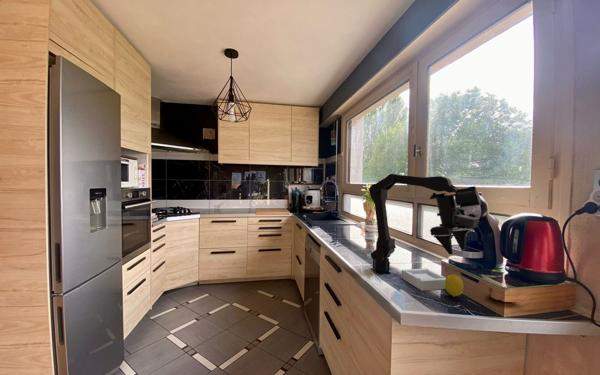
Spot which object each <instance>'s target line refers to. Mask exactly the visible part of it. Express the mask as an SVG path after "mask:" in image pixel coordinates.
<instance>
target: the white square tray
mask: <svg viewBox="0 0 600 375" xmlns="http://www.w3.org/2000/svg"><path fill="white" fill-rule="evenodd" d="M446 278H447V277H445V276H444V275H441V274H439V273H437V272H435V271H433V270H430V269H429V268H411V269H410V268H409V269H401V279H403V281H406V282H408V283H409V284H411V285H412V286H413V287H415V288H416V289H418V290H420V291H434V290H436V291H437V290H446V288H445V280H446Z"/></svg>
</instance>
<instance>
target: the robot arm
mask: <svg viewBox="0 0 600 375" xmlns="http://www.w3.org/2000/svg"><path fill="white" fill-rule="evenodd" d="M452 183H453V182H452V180H451V179H450V178H449V177H445V176H441V175H439V176H425V177H423V176H422V177H421V176H412V175H411V176H410V175H403V174H396V173H390V174H388V175H387V176H386V177H384V178H383V179H381V180H379V181H378V182H376V183H373V184H372V185H370V187H369V188H368V192H369V195H370V199H371V201H372V202H373V203H374V211H375V220H376V228H377V238H376V244H375V250H374V251H372V252H371V253H370V258H371V259H372V267H370V270H371V271H372V272H374V273H375V274H377V275H389V274H391V273H392V272H390V268H391V267H390V266H391V265H390V257H391V255H392V254H393V253H394V252H395V249H396V248H397V247H396V242H395V241H396V239H395V238H392V237H391V235H390V231H389V221H388V214H387V212H388V211H387V205H386V203H387V199H388V192H389V190H390V189H392V188H393V187H394V186H395V184H400V185H401V184H402V185H408V186H417V187H423V188H426V189H428V190H432V191H434V192H432V195H431V196H430V197H429V199H430V200H435V201H436V205H437V211H438V213H436V216H437V217H439V218H440V222H441V223H439V225H438V226H434V227H430V229H429V231H430V235H431V236H433V238H435V239H436V241H438V242H439V244H440V245H441V246H442V247H443V248H444V250H445V251H446V252H447V253H448V255H453V244H452V239H453V238H454V239H455V241H456V243H457V244H458V246H459V248H460V249H461V250H462V251H463V250H466V245H467V243H466V242H467V235H468V234H469V233H470V232H471V231H472V230H473V229H475V228H478V224H479V223H480V220H479V219H480V217H478V215H477V213H473V212H471V213H469V214H468V215H463V214H462V212H461V211H460V210H457V207H456V206H460V207H461V208H470V207H478V206H481V205H482V203H481V202H482V201H481V197H480V195H479V193H478V189H477V187H476V186H475V185H473V186H469V187H465V188H458V187H456V186H455V185H453V184H452ZM435 191H436V192H439V193H436V192H435ZM440 192H441V193H440ZM447 193H450V194H447ZM451 193H452V194H451ZM466 227H467V228H466Z"/></svg>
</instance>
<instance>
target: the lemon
mask: <svg viewBox="0 0 600 375" xmlns="http://www.w3.org/2000/svg"><path fill="white" fill-rule="evenodd" d="M445 278H446V280H445V288H446V289H445V291H446V292H447V293H448V294H450V295H451V296H452V297H454V298H455V297H458V296H460V295H462V294H463V292H464V283H463V282H464V281H463V280H462V278H461V277H460V276H459V275H456V273H453V274H449V275H447V277H445Z"/></svg>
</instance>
